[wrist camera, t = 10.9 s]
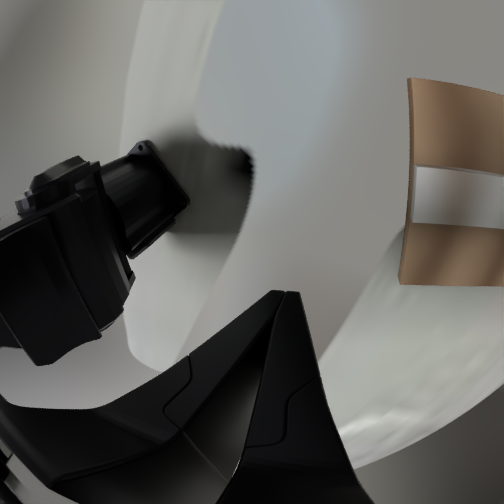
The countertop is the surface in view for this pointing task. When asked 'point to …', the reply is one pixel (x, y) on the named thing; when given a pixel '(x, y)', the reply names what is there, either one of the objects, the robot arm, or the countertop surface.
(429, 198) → the rail board
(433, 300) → the countertop surface
